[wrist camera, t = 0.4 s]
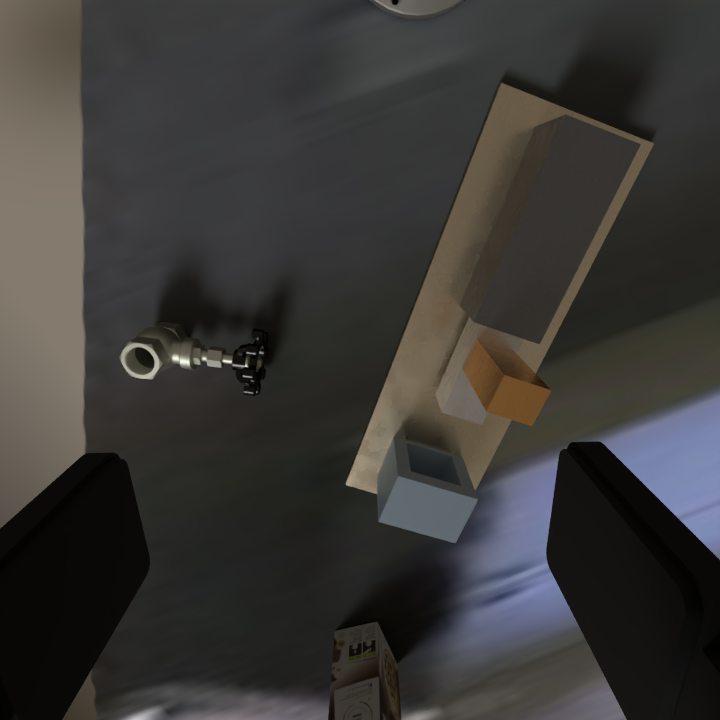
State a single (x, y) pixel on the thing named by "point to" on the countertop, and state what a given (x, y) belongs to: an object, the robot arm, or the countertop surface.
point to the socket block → (424, 491)
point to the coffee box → (363, 676)
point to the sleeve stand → (502, 266)
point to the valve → (193, 355)
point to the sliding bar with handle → (490, 379)
